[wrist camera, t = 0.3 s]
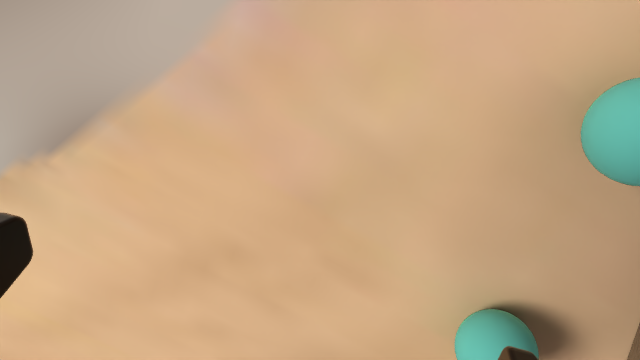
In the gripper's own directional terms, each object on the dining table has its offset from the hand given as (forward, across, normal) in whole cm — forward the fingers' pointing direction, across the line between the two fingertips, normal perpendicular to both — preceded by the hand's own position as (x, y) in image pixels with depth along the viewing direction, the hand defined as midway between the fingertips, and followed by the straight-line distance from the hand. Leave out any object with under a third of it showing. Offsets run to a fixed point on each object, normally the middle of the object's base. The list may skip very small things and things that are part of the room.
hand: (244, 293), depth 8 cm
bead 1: (+14, -9, +12) cm, 20 cm away
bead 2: (+14, -11, -1) cm, 18 cm away
